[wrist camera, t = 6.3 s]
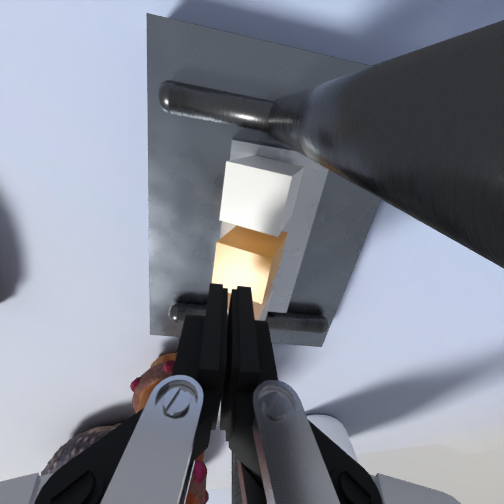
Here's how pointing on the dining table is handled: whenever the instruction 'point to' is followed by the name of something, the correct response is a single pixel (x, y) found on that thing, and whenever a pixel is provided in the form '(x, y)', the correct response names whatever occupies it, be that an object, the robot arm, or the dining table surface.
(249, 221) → the white tilted cube
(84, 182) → the dining table surface
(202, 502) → the mug
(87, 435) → the sea urchin shell
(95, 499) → the robot arm
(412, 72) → the dark piece
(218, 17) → the dining table surface
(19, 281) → the dining table surface
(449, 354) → the dining table surface
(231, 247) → the block
